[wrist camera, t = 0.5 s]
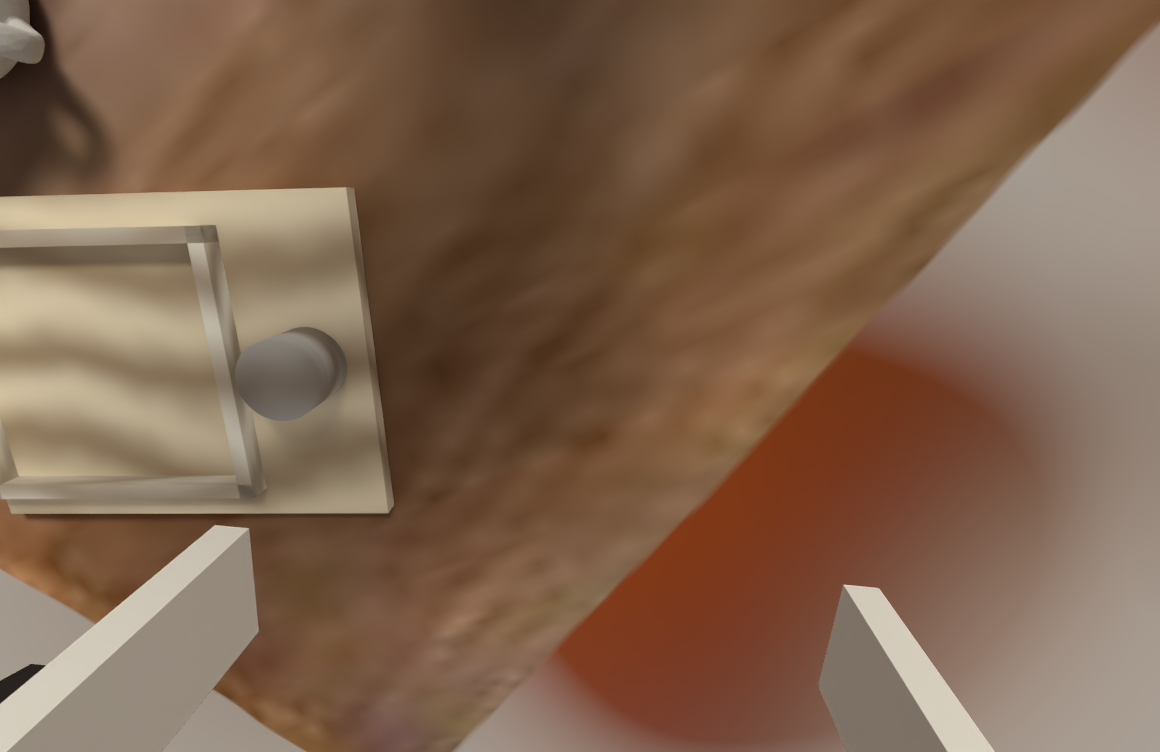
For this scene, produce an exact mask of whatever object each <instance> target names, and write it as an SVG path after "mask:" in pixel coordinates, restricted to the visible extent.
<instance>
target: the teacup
mask: <svg viewBox="0 0 1160 752" xmlns="http://www.w3.org/2000/svg"><path fill="white" fill-rule="evenodd" d="M44 47H45V43H44V39H43V37H42V35H40V34H39V33H38V32H37V31H35V30H34V29H33V28H32V27H31V26H30V7H29V1H28V0H0V78H2V77H4V76H5V75H6V74H7V73H8V72H9V71H10V70H11V69H12V68H13V67H14V65H15V64H16V63H17V61H19V62H23V63H29V64H35V63H38V62H39V61H40V60H41V58H42V56H43V53H44Z"/></svg>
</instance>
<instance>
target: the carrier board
mask: <svg viewBox="0 0 1160 752" xmlns="http://www.w3.org/2000/svg"><path fill="white" fill-rule="evenodd" d="M0 499H7V502H8V505H9V508H10V511H11V514H207V513H389V512H390V510H391V509H392V507H393V506H394V499H393V491H392V483H391V475H390V468H389V460H388V452H387V444H386V436H385V428H384V420H383V412H382V404H381V396H380V388H379V380H378V373H377V365H376V357H375V349H374V341H373V333H372V325H371V317H370V309H369V301H368V293H367V285H366V277H365V270H364V262H363V254H362V246H361V238H360V230H359V222H358V214H357V206H356V198H355V190H354V188H348V187H342V188H305V189H269V190H232V191H196V192H160V193H123V194H87V195H50V196H14V197H0Z"/></svg>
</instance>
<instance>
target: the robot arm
mask: <svg viewBox="0 0 1160 752" xmlns="http://www.w3.org/2000/svg"><path fill="white" fill-rule="evenodd" d="M258 632H259V629H258V618H257V607H256V597H255V586H254V576H253V565H252V554H251V544H250V533H249V528H240V527H229V526H219V525H214V526H213V527H212V528H211V529H210V530H208V531H207V532H206V533H205V534H204V535H202V536H201V537H200V538H199V539H198V540H196V541H195V542H194V543H193V544H192V545H190V546H189V547H188V548H187V549H186V550H184V551H183V552H182V553H181V554H180V555H178V556H177V557H176V558H175V559H174V560H172V561H171V562H170V563H169V564H168V565H166V566H165V567H164V568H163V569H162V570H160V571H159V572H158V573H157V574H156V575H154V576H153V577H152V578H151V579H150V580H148V581H147V582H146V583H145V584H144V585H142V586H141V587H140V588H139V589H138V590H136V591H135V592H134V593H133V594H132V595H130V596H129V597H128V598H127V599H126V600H124V601H123V602H122V603H121V604H120V605H118V606H117V607H116V608H115V609H114V610H112V611H111V612H110V613H109V614H108V615H106V616H105V617H104V618H103V619H102V620H100V621H99V622H98V623H97V624H96V625H94V626H93V627H92V628H91V629H90V630H88V631H87V632H86V633H85V634H84V635H82V636H81V637H80V638H79V639H78V640H76V641H75V642H74V643H73V644H72V645H70V646H69V647H68V648H67V649H66V650H64V651H63V652H62V653H61V654H60V655H58V656H57V657H56V658H55V659H54V660H52V661H51V662H50V663H49V664H47V665H35V664H30V665H29V666H27V667H25V668H23V669H21V670H19V671H18V672H16V673H14V674H12V675H10V676H8V677H6V678H5V679H3V680H1V681H0V752H162V751H163V750H164V749H165V747H166V746H167V745H168V744H169V742H170V741H171V740H172V739H173V737H174V736H175V735H176V734H177V733H178V731H179V730H180V729H181V727H182V726H183V725H184V724H185V722H186V721H187V720H188V718H190V716H191V715H192V714H193V712H194V711H195V710H196V709H197V708H198V706H199V705H200V704H201V703H202V701H203V700H204V699H205V698H206V696H207V695H208V694H209V693H210V691H211V690H212V689H213V688H214V686H215V685H216V684H217V683H218V681H219V680H220V679H221V678H222V676H223V675H224V674H225V673H226V672H227V670H228V669H229V668H230V667H231V665H232V664H233V663H234V662H235V660H236V659H237V658H238V657H239V655H240V654H241V653H242V652H243V650H244V649H245V648H246V647H247V645H248V644H249V643H250V642H251V640H252V639H253V638H254V637H255V635H256V634H257V633H258ZM818 686H819V689H820V691H821V693H822V695H823V698H824V700H825V702H826V704H827V707H828V709H829V711H830V713H831V716H832V718H833V720H834V723H835V725H836V727H837V730H838V732H839V734H840V736H841V738H842V741H843V743H844V746H845V748H846V750H847V752H994V750H993V749H992V747H991V746H990V744H989V743H988V742H987V740H986V739H985V737H984V736H983V735H982V733H981V732H980V730H979V729H978V728H977V726H976V725H975V723H974V722H973V720H972V719H971V718H970V716H969V715H968V713H967V712H966V711H965V709H964V708H963V707H962V705H961V704H960V702H959V701H958V699H957V698H956V696H955V695H954V694H953V692H952V691H951V690H950V688H949V687H948V685H947V684H946V682H945V681H944V679H943V678H942V677H941V675H940V674H939V672H938V671H937V670H936V668H935V667H934V665H933V664H932V663H931V661H930V660H929V658H928V657H927V655H926V654H925V653H924V651H923V650H922V649H921V647H920V646H919V644H918V643H917V641H916V640H915V639H914V637H913V636H912V634H911V633H910V631H909V630H908V629H907V627H906V626H905V625H904V623H903V622H902V620H901V619H900V617H899V616H898V615H897V613H896V612H895V610H894V609H893V608H892V606H891V605H890V603H889V602H888V601H887V599H886V598H885V596H884V595H883V593H882V592H881V591H880V589H879V588H873V587H861V586H852V585H843V589H842V593H841V597H840V601H839V605H838V609H837V613H836V617H835V621H834V625H833V629H832V633H831V637H830V641H829V645H828V649H827V653H826V657H825V661H824V665H823V669H822V673H821V677H820V681H819V685H818Z"/></svg>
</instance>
